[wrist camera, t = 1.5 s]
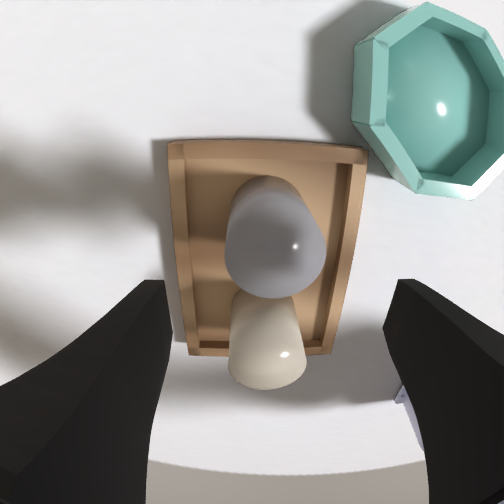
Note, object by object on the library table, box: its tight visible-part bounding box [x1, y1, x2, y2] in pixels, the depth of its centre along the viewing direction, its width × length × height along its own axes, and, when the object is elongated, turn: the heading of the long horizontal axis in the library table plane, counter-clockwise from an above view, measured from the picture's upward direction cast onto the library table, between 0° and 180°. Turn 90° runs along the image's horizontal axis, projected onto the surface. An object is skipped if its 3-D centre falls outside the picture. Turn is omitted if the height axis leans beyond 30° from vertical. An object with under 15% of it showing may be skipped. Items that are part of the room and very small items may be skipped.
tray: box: [167, 139, 369, 357], centre depth 18 cm, size 14×10×1 cm
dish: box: [351, 2, 504, 200], centre depth 13 cm, size 10×10×3 cm
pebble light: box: [228, 289, 307, 390], centre depth 17 cm, size 4×4×5 cm
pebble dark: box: [224, 176, 326, 298], centre depth 14 cm, size 4×4×5 cm
